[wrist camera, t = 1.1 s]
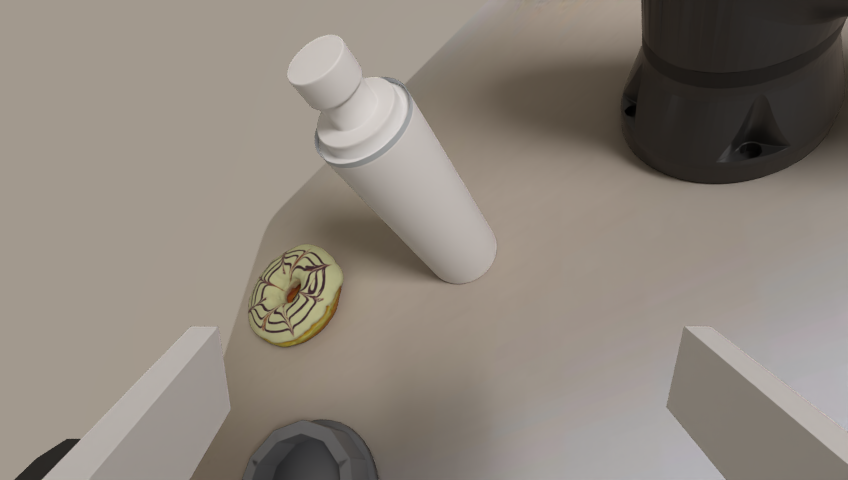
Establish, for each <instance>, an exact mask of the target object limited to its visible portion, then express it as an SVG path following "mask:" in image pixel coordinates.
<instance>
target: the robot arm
mask: <svg viewBox="0 0 848 480" xmlns="http://www.w3.org/2000/svg"><path fill="white" fill-rule="evenodd" d="M641 1H642V46H641V49H640V51H639V53H638V56H637V58H636V61H635V63H634V66H633V68H632V70H631V73H630V75H629V78H628V80H627V82H626V85H625V88H624V90H623V94H622V100H621V121H622V130H623V134H624V137H625V139H626V141H627V143H628V145H629V147H630V148H631V149H632V151H633V152H634V153H635V154H636V155H637V156H638V157H639V158H640V159H641V160H642V161H644V162H645V163H646V164H648V165H649V166H651V167H652V168H654V169H656V170H658V171H660V172H662V173H665V174H667V175H670V176H673V177H676V178H680V179H684V180H689V181H694V182H703V183H731V182H740V181H746V180H751V179H756V178H760V177H763V176H767V175H770V174H772V173H775V172H778V171H780V170H782V169H785V168H787V167H789V166H791V165H793V164H794V163H796V162H798V161H799V160H801V159H802V158H804V157H805V156H806V155H808V154H809V153H810V152H811V151H813V150H814V149H815V148H816V147H817V146H818V145H819V144H820V142H821V141H822V140H823V139H824V137H825V136H826V135H827V133H828V131H829V130H830V128H831V126H832V124H833V122H834V120H835V118H836V116H837V114H838V112H839V110H840V108H841V105H842V102H843V97H844V92H845V75H844V63H843V51H842V39H841V31H842V28H843V26H844V23H845V21H846V18H847V17H848V0H641ZM666 407H667V408H668V409H669V411H670V412H671V413H672V414H673V416H674V417H675V418H676V419H677V420H678V422H679V423H680V424H681V425H682V427H683V428H684V429H685V430H686V431H687V433H688V434H689V435H690V436H691V438H692V439H693V440H694V441H695V442H696V444H697V445H698V446H699V447H700V448H701V450H702V451H703V452H704V453H705V455H706V456H707V457H708V458H709V459H710V461H711V462H712V463H713V464H714V466H715V467H716V468H717V469H718V470H719V472H720V473H721V474H722V475H723V477H724V478H725V479H726V480H848V432H847V431H846V430H845V429H843V428H842V427H841V426H840V425H838V424H837V423H836V422H834V421H833V420H832V419H830V418H829V417H828V416H827V415H825V414H824V413H823V412H821V411H820V410H819V409H817V408H816V407H815V406H814V405H812V404H811V403H810V402H808V401H807V400H806V399H804V398H803V397H802V396H801V395H799V394H798V393H797V392H795V391H794V390H793V389H791V388H790V387H789V386H787V385H786V384H785V383H784V382H782V381H781V380H780V379H778V378H777V377H776V376H774V375H773V374H772V373H771V372H769V371H768V370H767V369H765V368H764V367H763V366H761V365H760V364H759V363H758V362H756V361H755V360H754V359H752V358H751V357H750V356H748V355H747V354H746V353H745V352H743V351H742V350H741V349H739V348H738V347H737V346H735V345H734V344H733V343H732V342H730V341H729V340H728V339H726V338H725V337H724V336H722V335H721V334H720V333H719V332H717V331H716V330H715V329H713V328H712V327H711V326H684V329H683V334H682V338H681V343H680V347H679V352H678V356H677V361H676V365H675V370H674V374H673V379H672V383H671V388H670V392H669V397H668V401H667V406H666ZM230 410H231V407H230V400H229V393H228V387H227V380H226V373H225V366H224V360H223V353H222V347H221V339H220V333H219V327H218V326H191V327H190V328H189V329H188V330H187V331H186V332H185V333H184V334H183V335H182V336H181V337H180V338H179V339H178V340H177V341H176V342H175V343H174V344H173V345H172V346H171V347H170V348H169V349H168V350H167V351H166V352H165V353H164V354H163V355H162V356H161V357H160V358H159V360H157V362H156V363H155V364H154V365H153V366H152V367H151V368H150V369H149V370H148V371H147V372H146V373H145V374H144V375H143V376H142V377H141V378H140V379H139V380H138V381H137V382H136V383H135V384H134V385H133V386H132V387H131V388H130V389H129V390H128V391H127V393H125V395H123V397H122V398H121V399H120V400H119V401H118V402H117V403H116V404H115V405H114V406H113V407H112V408H111V409H110V410H109V411H108V412H107V413H106V414H105V415H104V416H103V417H102V418H101V419H100V420H99V422H97V423H96V424H95V425H94V427H92V429H91V430H90V431H89V432H88V433H87V434H86V435H85V436H84V437H83V438H82V439H66V440H65V441H63V442H62V443H60V444H58V445H57V446H55V447H54V448H52V449H51V450H49V451H48V452H46V453H44V454H43V455H41V456H40V457H38V458H37V459H36V460H34V461H33V462H32V463H31V464H30V465H29V466H28V467H27V468H26V469H25V470H24V471H23V472H22V473H21V474H20V475H19V476H18V477H17V478H16V479H15V480H190V478H191V476H192V475H193V473H194V471H195V470H196V468H197V466H198V464H199V463H200V461H201V459H202V458H203V456H204V454H205V452H206V451H207V449H208V447H209V446H210V444H211V442H212V440H213V439H214V437H215V435H216V434H217V432H218V430H219V428H220V427H221V425H222V423H223V422H224V420H225V418H226V416H227V415H228V413H229V411H230Z"/></svg>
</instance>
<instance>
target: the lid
mask: <svg viewBox="0 0 848 480" xmlns="http://www.w3.org/2000/svg"><path fill="white" fill-rule="evenodd" d="M242 480H378V475H377V470H376V466H375V463H374V460H373V457H372V455H371V452H370V450H369V448H368V447H367V445H366V444H365V442H364V441H363V439H362V438H361V437H360V436H359V435H358V434H357V433H356V432H355V431H354V430H353V429H351V428H350V427H348V426H346V425H344V424H342V423H339V422H335V421H330V420H315V421H306V420H301V421H299V422H296V423H293V424H291V425H288V426H285V427H283V428H280V429H277V430H275V431H273V433H272V434H271V435H270V436H269V437H268V438H267V439H266V441H265V442H264V443H263V444H262V445H261V446H260V447H259V448H258V450H257V451H256V452H255V453H254V454H253V455H252V456H251V458H250V460H249V462H248V465H247V468H246V470H245V473H244V476H243V478H242Z"/></svg>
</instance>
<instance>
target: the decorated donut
mask: <svg viewBox="0 0 848 480" xmlns="http://www.w3.org/2000/svg"><path fill="white" fill-rule="evenodd" d="M343 279H344V276H343V273H342V270H341V268H340V267H339V266H338V265H337V263H336V262H335V260H334V259H333V257H332V256H330V255H329V254H328V253H327V252H326V251H325V250H323V249H322V248H320V247H317V246H314V245H309V244H303V245H299V246H297V247H295V248H293V249H291V250H289V251H287V252H285V253H284V254H282V255H281V256H279V257H278V258H276V259H275V260H273V261H272V262H271V263H270V264H269V266H268V267H267V268H266V270H265V271H264V272H263V273H262V274H261V275H260V277H259V278H258V280H257V283H256V284H255V287H254V289H253V292H252V294H251V296H250V299H249V305H248V307H249V312H248V314H249V321H250V326H251V328H252V329H253V330H254V332H255V333H256V334H257V335H259V336H260V337H261V338H263V339H264V340H266V341H267V342H269V343H271V344H274V345H278V346H281V347H288V346H292V345H296V344H300V343H303V342H306V341H307V340H309V339H311V338H312V337H313V336H315V335H317V334H318V333H319V332H320V331H321V330H322V329H323V328H324V327H325V326H326V325H327V324H328V322H329V321H330V320H331V318H332V317H333V315H334V313H335V311H336V309H337V306H338V300H339V296H340V292H341V285H342V283H343ZM299 290H300V291H299ZM298 291H299V293H298ZM297 293H298V295H297V297H296V299H295V300H294V301H293V299H294V298H295V296H296V294H297Z"/></svg>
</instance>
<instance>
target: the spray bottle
mask: <svg viewBox="0 0 848 480" xmlns="http://www.w3.org/2000/svg"><path fill="white" fill-rule="evenodd" d="M287 76H288V80H289V82H290V83H291V84H292V85H293V87H294V88H295V89H296V90H297V91H298V92H299V93H300V95H301V96H302V97H303V98H304V99H305V100H306V101H307V103H308V104H309V105H310V106H311V107H312V108H314V109H317V110H320V111H321V114H320V116H319V120H318V124H317V129H316V133H315V146H316V149H317V152H318V153H319V155H320V156H321V157H322V156H323V157H322V158H324V160H325V161H326V162H327V163H328V164H329V165H330V166H331V167H332V168H333V169H334V170H335V171H336V173H337V174H338V175H339V176H340V177H341V178H342V179H343V180H344V181H345V182H346V183H347V184H348V185H349V186H350V187H351V188H352V189H353V190H354V191H355V192H356V193H357V194H358V195H359V196H360V197H361V198H362V199H363V200H364V202H365V203H366V204H367V205H368V206H369V207H370V208H371V209H372V210H373V211H374V212H375V213H376V214H377V215H378V216H379V217H380V218H381V219H382V220H383V221H384V222H385V223H386V224H387V225H388V226H389V227H390V228H391V229H392V230H393V231H394V232H395V233H396V234H397V235H398V236H399V237H400V238H401V239H402V240H403V241H404V242H405V243H406V244H407V245H408V247H409V248H410V249H411V250H412V251H413V252H414V253H415V254H416V255H417V256H418V257H419V258H420V259H421V260H422V261H423V262H424V263H425V264H426V265H427V266H428V267H429V268H430V269H431V270H432V271H433V272H434V273H435V274H436V275H437V276H438V277H439V278H440V279H442V280H444V281H446V282H449V283H453V284H463V283H468V282H471V281H474V280H476V279H477V278H479V277H481V276H482V275H483V274H484V273H485V272H486V271H487V270H488V269H489V268H490V266H491V265H492V263H493V261H494V259H495V256H496V251H497V243H496V238H495V236H494V234H493V232H492V230H491V228H490V227H489V225H488V223H487V222H486V220H485V218H484V217H483V215H482V213H481V212H480V210H479V208H478V207H477V205H476V203H475V202H474V200H473V198H472V197H471V195H470V193H469V191H468V190H467V188H466V186H465V185H464V183H463V181H462V180H461V178H460V176H459V175H458V173H457V171H456V170H455V168H454V166H453V165H452V163H451V161H450V160H449V158H448V156H447V155H446V153H445V151H444V149H443V148H442V146H441V144H440V143H439V141H438V140H437V138H436V136H435V135H434V133H433V131H432V130H431V128H430V126H429V125H428V123H427V121H426V120H425V118H424V116H423V115H422V113H421V111H420V110H419V108H418V106H417V105H416V103H415V101H414V100H413V98H412V97H411V95H410V93H409V92H408V90H407V88H406V87H405V85H404V84H403V83H401V82H400V81H398V80H396V79H393V78H388V77H367V78H363V77H362V69H361V67H360V65H359V63H358V62H357V60H356V59H355V57H354V56H353V54H352V53H351V51H350V50H349V48H348V47H347V45H346V44H345V42H344V41H343V40H342V39H341V38H340V37H339V36H336V35H325V36H322V37H319V38H317V39H315V40H313V41H311V42H310V43H308V44H307V45H306V46H304V47H303V48H302V49H301V50H300V51H299V52H298V53H297V54H296V56H295V57H294V58H293V60H292V61H291V63H290V65H289V68H288V72H287ZM389 82H390V83H389ZM394 83H396V84H394ZM397 84H399V85H397ZM400 85H401V86H400ZM402 86H403V87H404V88H403V87H402ZM319 139H320V142H319ZM319 146H320V149H319ZM320 152H321V153H320ZM321 154H322V155H321Z"/></svg>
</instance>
